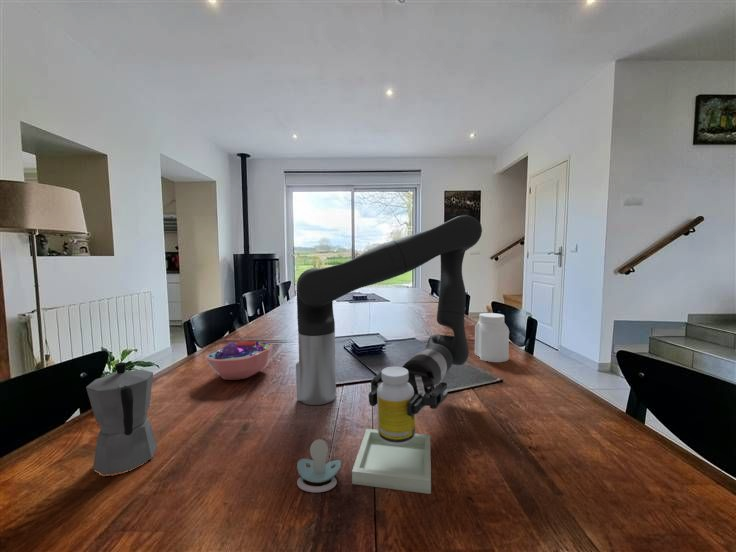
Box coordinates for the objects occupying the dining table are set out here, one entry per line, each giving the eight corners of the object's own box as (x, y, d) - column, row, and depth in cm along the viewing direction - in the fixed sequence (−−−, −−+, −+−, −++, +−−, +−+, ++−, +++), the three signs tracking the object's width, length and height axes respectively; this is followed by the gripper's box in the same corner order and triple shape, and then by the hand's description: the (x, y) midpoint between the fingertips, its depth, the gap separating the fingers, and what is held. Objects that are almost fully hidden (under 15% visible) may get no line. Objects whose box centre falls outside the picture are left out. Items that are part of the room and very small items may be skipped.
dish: (352, 483, 50) (351, 471, 50) (366, 438, 62) (366, 428, 62) (430, 494, 48) (430, 480, 48) (430, 445, 60) (430, 434, 60)
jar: (512, 362, 105) (513, 318, 104) (483, 362, 105) (484, 318, 104) (497, 351, 116) (498, 311, 115) (472, 352, 116) (472, 312, 115)
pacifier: (336, 497, 48) (343, 469, 54) (335, 459, 47) (342, 434, 53) (290, 494, 48) (301, 467, 54) (288, 456, 48) (300, 433, 54)
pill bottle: (414, 448, 51) (412, 380, 50) (375, 445, 52) (373, 377, 51) (415, 426, 57) (414, 365, 56) (381, 423, 59) (379, 363, 58)
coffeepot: (90, 454, 58) (83, 360, 57) (151, 434, 65) (146, 349, 63) (94, 501, 47) (86, 385, 46) (167, 471, 53) (161, 368, 52)
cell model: (286, 370, 99) (285, 336, 99) (229, 395, 83) (227, 353, 82) (252, 361, 108) (250, 329, 108) (194, 381, 92) (192, 343, 91)
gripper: (393, 349, 70) (353, 376, 56) (458, 359, 63) (430, 392, 48) (394, 381, 70) (354, 416, 56) (458, 395, 63) (431, 439, 49)
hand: (389, 405), depth 52 cm, fingers closed on pill bottle, 6 cm apart
